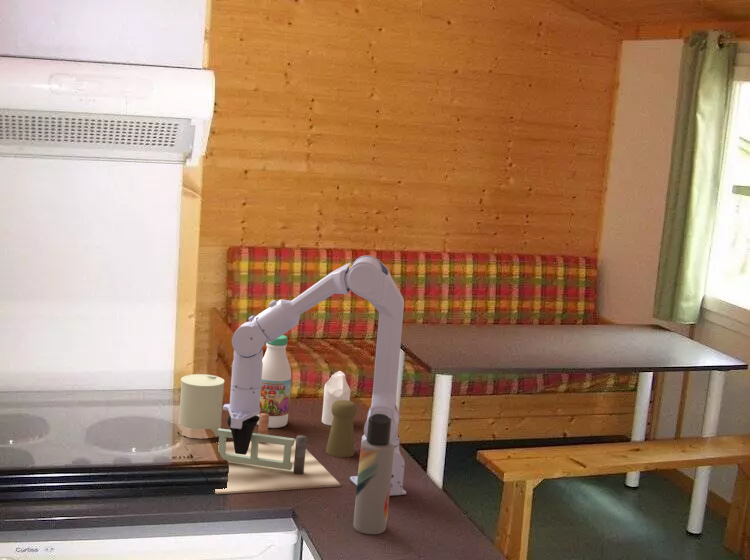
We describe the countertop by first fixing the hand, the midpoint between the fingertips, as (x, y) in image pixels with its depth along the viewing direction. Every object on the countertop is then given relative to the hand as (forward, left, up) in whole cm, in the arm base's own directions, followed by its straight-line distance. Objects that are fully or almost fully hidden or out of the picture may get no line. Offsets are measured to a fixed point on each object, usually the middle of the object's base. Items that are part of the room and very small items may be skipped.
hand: (241, 453), depth 193 cm
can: (+23, +2, -4) cm, 23 cm away
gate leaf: (+1, -3, -2) cm, 4 cm away
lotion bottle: (-30, -15, -4) cm, 34 cm away
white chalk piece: (+26, -30, -4) cm, 40 cm away
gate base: (+2, -5, -3) cm, 6 cm away
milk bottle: (+27, -15, -4) cm, 31 cm away
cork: (+7, -24, -4) cm, 25 cm away
